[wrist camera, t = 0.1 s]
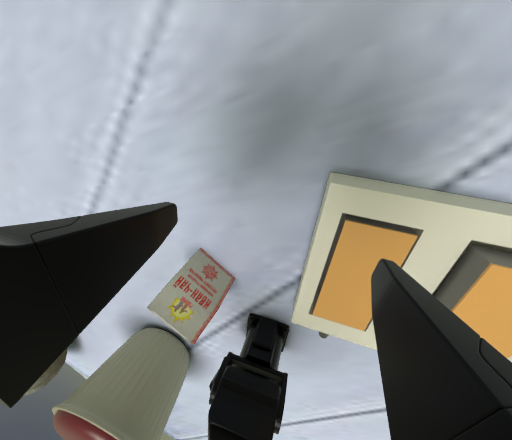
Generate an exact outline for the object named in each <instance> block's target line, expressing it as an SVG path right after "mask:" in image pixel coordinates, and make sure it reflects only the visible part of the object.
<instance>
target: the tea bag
mask: <svg viewBox="0 0 512 440" xmlns="http://www.w3.org/2000/svg"><path fill="white" fill-rule="evenodd" d="M234 279H235V278H234V277H233V276H232V275H231V274H229V273H228V272H227V271H226V270H225V269H224V268H223V267H222V266H220V265H219V264H218V263H217V262H216V261H215V260H214V259H213V258H211V257H210V256H209V255H208V254H207V253H206V252H205V251H204V250H202V249H201V248H200V249H199V250H198V251H197V252H196V253H195V254H194V255H193V256H192V257H191V258H190V259H189V260H188V262H187V263H186V264H185V265H184V266H183V267H182V268H181V269H180V270H179V272H178V273H177V274H176V275H175V276H174V277H173V278H172V279H171V280H170V282H169V283H168V284H167V285H166V286H165V287H164V288H163V289H162V291H161V292H160V293H159V294H158V295H157V296H156V298H155V299H154V300H153V301H152V302H151V303H150V305H149V306H148V307H147V308H148V309H149V310H150V311H151V312H153V313H154V314H155V315H156V316H157V317H159V318H160V319H161V320H162V321H164V322H165V323H166V324H167V325H169V326H170V327H171V328H172V329H173V330H175V331H176V332H177V333H178V334H180V335H181V336H182V337H183V338H185V339H186V340H187V341H188V342H189V343H191V344H192V345H193V344H195V342H196V341H197V339H198V338H199V336H200V335H201V333H202V332H203V330H204V329H205V327H206V326H207V324H208V323H209V322H210V320H211V319H212V317H213V316H214V315H215V313H216V312H217V310H218V309H219V307H220V305H221V303H222V301H223V299H224V298H225V296H226V294H227V292H228V290H229V288H230V286H231V285H232V283H233V281H234Z"/></svg>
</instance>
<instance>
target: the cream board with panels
mask: <svg viewBox="0 0 512 440" xmlns="http://www.w3.org/2000/svg"><path fill="white" fill-rule="evenodd" d="M342 213H346V214H350V215H355V216H360V217H365V218H369V219H374V220H379V221H384V222H389V223H393V224H398V225H403V226H408V227H412V228H413V230H414V231H415V233H416V234H417V236H418V237H417V239H416V240H415V242H414V244H413V246H412V247H411V249H410V251H409V253H408V254H407V256H406V258H405V260H404V262H403V263H402V265H401V268H402V269H403V270H404V271H405V272H406V273H408V274H409V275H410V276H411V277H412V278H413V279H415V280H416V281H417V282H418V283H419V284H420V285H422V286H423V287H424V288H425V289H426V290H427V291H429V292H430V293H431V294H432V295H433V296H434V295H435V293H436V292H437V290H438V289H439V288H440V286H441V285H442V284H443V282H444V281H445V280H446V278H447V277H448V275H449V274H450V273H451V271H452V270H453V269H454V267H455V266H456V265H457V263H458V262H459V260H460V259H461V258H462V256H463V255H464V254H465V252H466V251H467V250H468V248H469V247H470V245H471V244H473V245H478V246H482V247H487V248H492V249H497V250H501V251H506V252H511V253H512V204H510V203H504V202H498V201H493V200H487V199H481V198H475V197H470V196H464V195H458V194H453V193H447V192H441V191H435V190H430V189H424V188H418V187H413V186H407V185H401V184H395V183H390V182H384V181H378V180H373V179H367V178H361V177H355V176H350V175H344V174H338V173H333V172H330V175H329V179H328V182H327V186H326V190H325V193H324V197H323V201H322V204H321V208H320V211H319V215H318V219H317V222H316V226H315V230H314V233H313V237H312V240H311V244H310V248H309V251H308V255H307V259H306V262H305V266H304V270H303V273H302V277H301V280H300V284H299V288H298V291H297V295H296V299H295V303H294V308H293V314H292V320H291V322H292V323H295V324H298V325H301V326H304V327H307V328H310V329H313V330H316V331H319V335H320V336H321V337H322V338H327V336H328V334H329V335H332V336H335V337H338V338H341V339H344V340H347V341H350V342H353V343H356V344H359V345H363V346H366V347H369V348H372V349H375V350H377V345H376V338H375V332H374V325H373V319H372V318H371V320H370V321H369V323H368V325H367V327H366V328H365V330H364V331H362V330H359V329H356V328H353V327H349V326H346V325H343V324H340V323H337V322H333V321H330V320H327V319H324V318H321V317H317V316H314V315H312V314H313V302H314V296H315V293H316V290H317V287H318V284H319V281H320V278H321V275H322V272H323V269H324V266H325V263H326V260H327V257H328V254H329V251H330V248H331V245H332V242H333V239H334V236H335V233H336V230H337V227H338V224H339V221H340V218H341V215H342ZM508 360H510V361H511V362H512V356H511V357H509V358H508Z"/></svg>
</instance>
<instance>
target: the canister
mask: <svg viewBox="0 0 512 440" xmlns="http://www.w3.org/2000/svg"><path fill="white" fill-rule="evenodd" d="M189 362H190V358H189V353H188V350H187V349H186V347H185V346H184V344H182V342H181V341H180V340H179V339H178V338H176V337H175V336H173V335H172V334H170V333H168V332H166V331H165V330H161V329H158V328H153V327H152V328H150V327H149V328H144V329H142V330H140V331H138V332H137V333H135V334H134V335H133V336H132V337H131V338H129V339H128V340H127V341H126V342H125V343H124V344H123V345H122V346H121V347H120V348H119V349H118V350H117V351H116V352H115V353H114V354H113V355H112V356H111V357H109V358H108V359H107V360H106V361H105V362H104V363H103V364H102V365H101V366H100V367H99V368H98V369H97V370H96V371H95V372H94V373H93V374H92V375H91V376H90V377H89V378H88V379H87V380H86V381H85V382H84V383H83V384H82V385H81V386H80V387H79V388H78V389H77V390H76V391H75V392H74V393H73V394H72V395H71V396H70V397H69V398H68V399H67V400H66V401H65V402H64V403H63V404H58V405H56V406H54V407H53V409H52V412H53V414H54V419H53V425H54V428H55V429H56V431H57V432H58V434H59V435H60V436H61V437H62V438H63V439H64V440H160V438H161V435H162V433H163V431H164V428H165V426H166V423H167V421H168V419H169V416H170V414H171V411H172V409H173V407H174V404H175V402H176V399H177V397H178V395H179V392H180V390H181V387H182V384H183V382H184V379H185V377H186V374H187V371H188V368H189Z"/></svg>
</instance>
